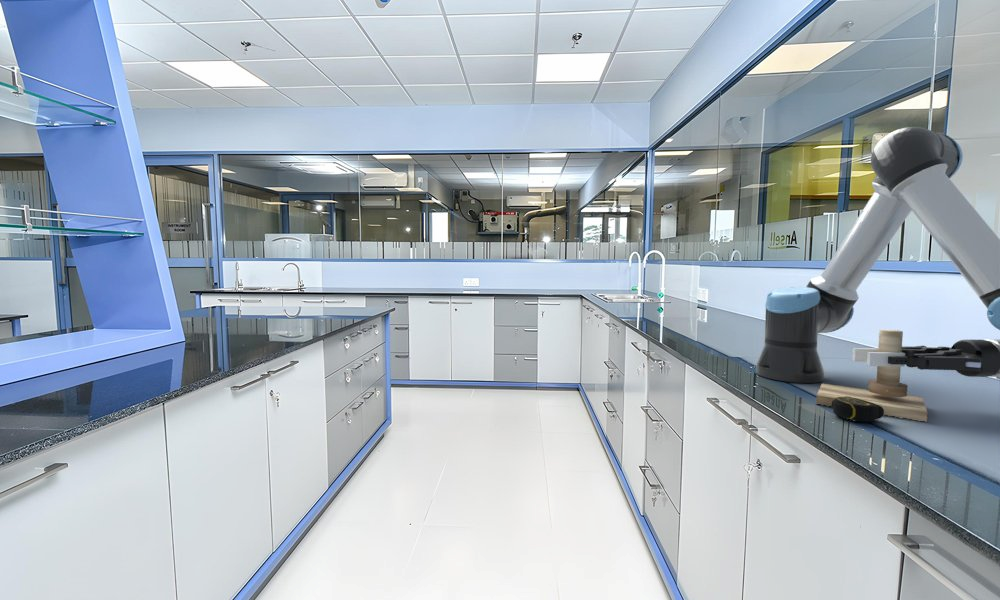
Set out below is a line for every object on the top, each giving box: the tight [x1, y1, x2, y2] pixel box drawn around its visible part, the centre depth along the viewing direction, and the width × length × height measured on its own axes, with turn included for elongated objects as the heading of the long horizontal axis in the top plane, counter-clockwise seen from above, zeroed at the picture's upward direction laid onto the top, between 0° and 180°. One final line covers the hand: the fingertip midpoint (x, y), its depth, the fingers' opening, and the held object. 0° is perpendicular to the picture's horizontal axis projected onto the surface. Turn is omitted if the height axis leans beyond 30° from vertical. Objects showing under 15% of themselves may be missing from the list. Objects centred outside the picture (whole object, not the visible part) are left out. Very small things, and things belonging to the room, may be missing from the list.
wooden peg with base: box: [867, 329, 908, 397], centre depth 90 cm, size 7×6×13 cm
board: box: [815, 383, 928, 423], centre depth 93 cm, size 12×17×2 cm
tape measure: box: [831, 396, 884, 423], centre depth 85 cm, size 7×7×4 cm
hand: (861, 356), depth 91 cm, fingers closed on wooden peg with base, 4 cm apart
